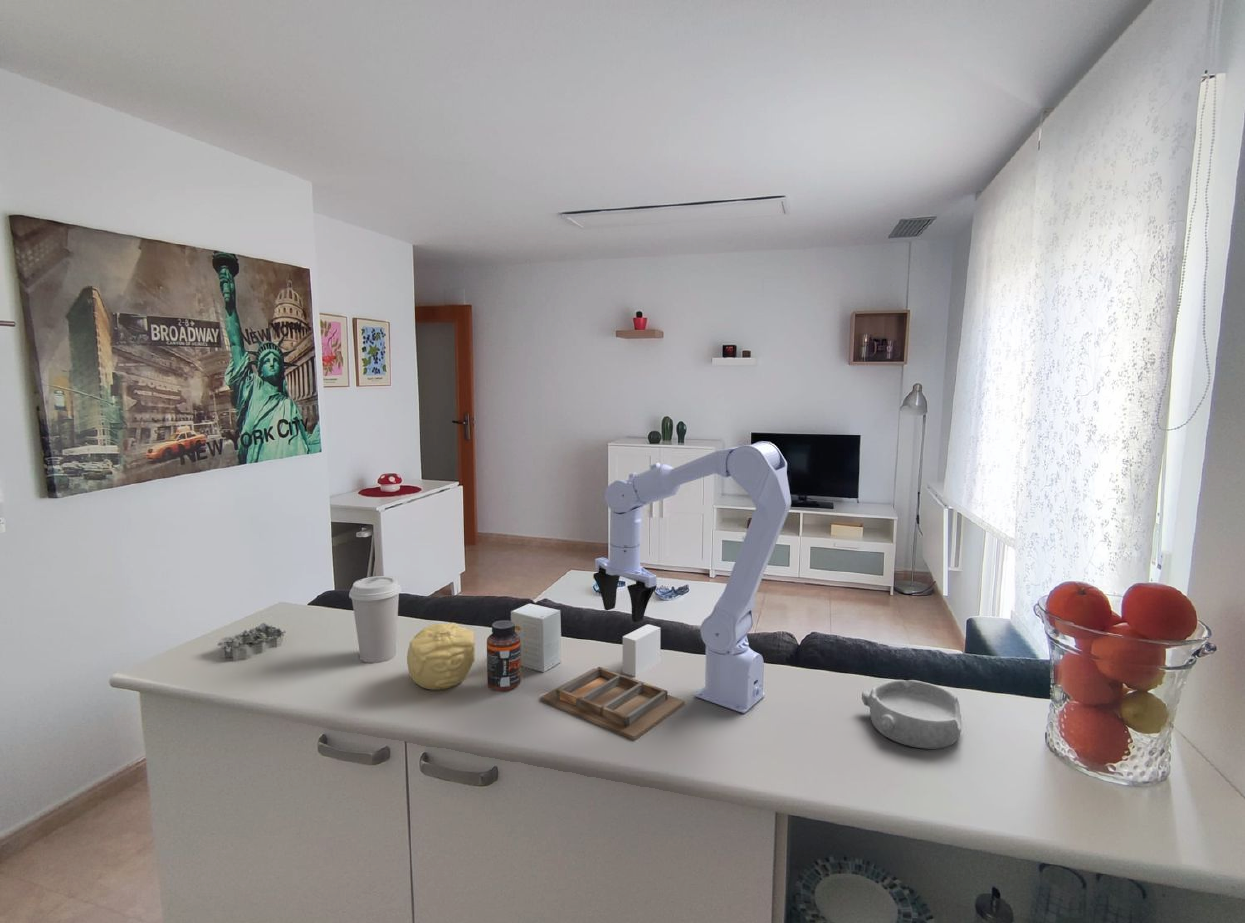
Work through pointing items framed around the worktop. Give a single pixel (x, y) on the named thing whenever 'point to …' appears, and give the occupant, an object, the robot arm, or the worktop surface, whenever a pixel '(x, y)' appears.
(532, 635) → the small box
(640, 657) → the blanking panel
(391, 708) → the worktop surface
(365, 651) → the coffee cup
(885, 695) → the dish
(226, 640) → the egg carton
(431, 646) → the sculpture
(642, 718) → the slot rack
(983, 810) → the worktop surface
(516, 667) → the supplement bottle
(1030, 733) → the worktop surface
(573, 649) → the worktop surface
